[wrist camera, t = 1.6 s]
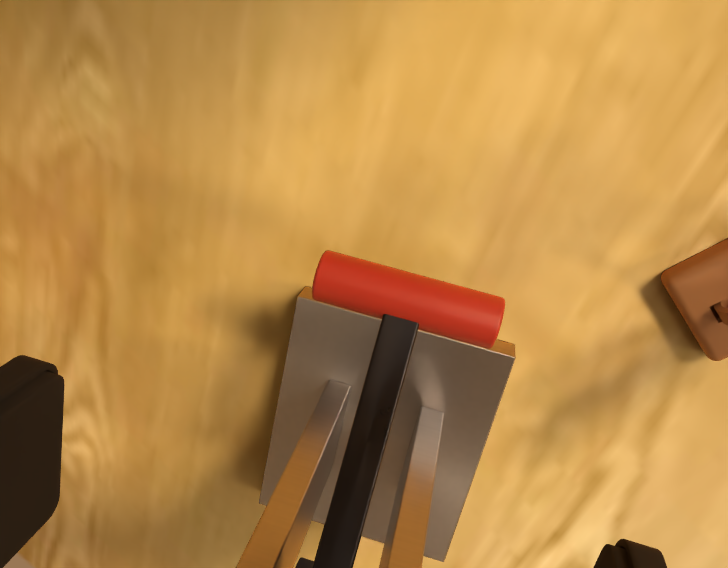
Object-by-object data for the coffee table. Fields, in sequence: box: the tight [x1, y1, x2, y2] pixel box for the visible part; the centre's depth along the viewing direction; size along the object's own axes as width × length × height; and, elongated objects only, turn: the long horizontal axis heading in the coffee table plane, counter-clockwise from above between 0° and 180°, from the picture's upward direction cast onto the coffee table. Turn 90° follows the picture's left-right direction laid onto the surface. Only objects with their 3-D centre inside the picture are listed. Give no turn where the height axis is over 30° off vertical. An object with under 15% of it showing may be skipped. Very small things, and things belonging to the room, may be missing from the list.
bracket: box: [236, 286, 515, 568], centre depth 23 cm, size 11×9×13 cm
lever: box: [295, 250, 505, 568], centre depth 19 cm, size 12×6×2 cm, turn 168°
